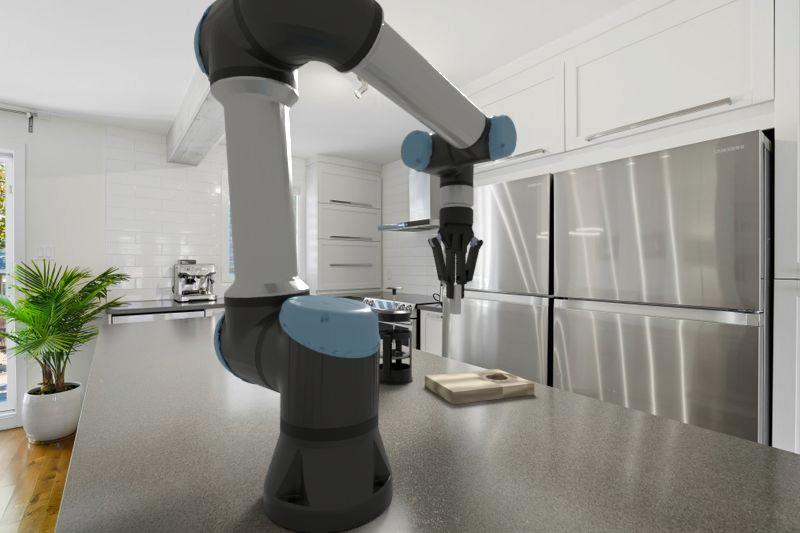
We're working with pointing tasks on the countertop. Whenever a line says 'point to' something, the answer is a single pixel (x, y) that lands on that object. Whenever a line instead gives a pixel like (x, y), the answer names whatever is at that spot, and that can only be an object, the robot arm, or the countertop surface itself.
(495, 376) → the ball
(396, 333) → the french press
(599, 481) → the countertop surface
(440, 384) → the cutting board
